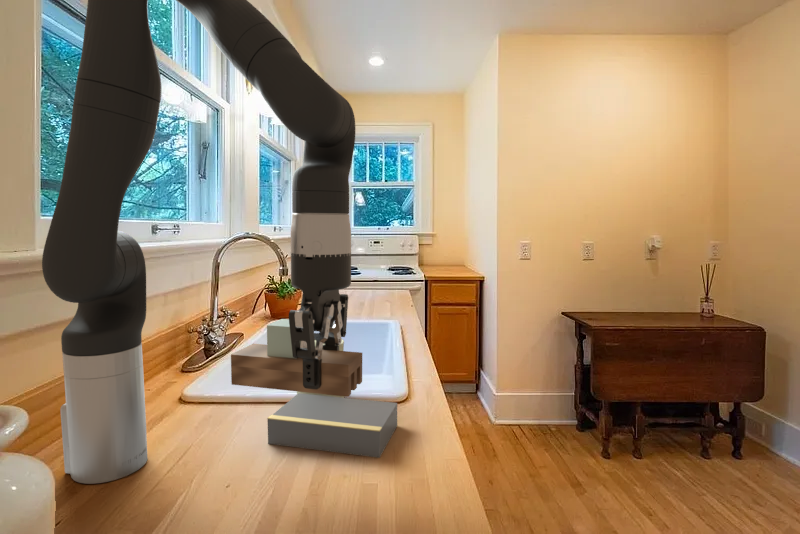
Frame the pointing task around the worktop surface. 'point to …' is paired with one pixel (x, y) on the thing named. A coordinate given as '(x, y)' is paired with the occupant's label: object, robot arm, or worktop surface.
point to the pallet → (296, 371)
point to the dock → (334, 424)
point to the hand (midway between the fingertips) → (321, 379)
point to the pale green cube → (279, 339)
